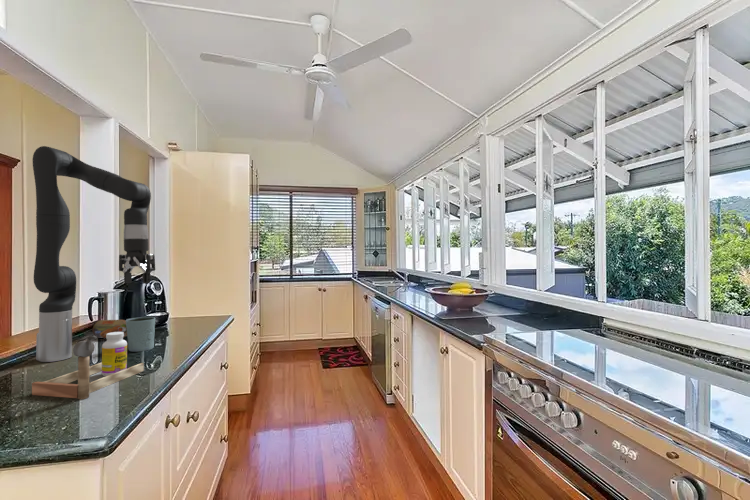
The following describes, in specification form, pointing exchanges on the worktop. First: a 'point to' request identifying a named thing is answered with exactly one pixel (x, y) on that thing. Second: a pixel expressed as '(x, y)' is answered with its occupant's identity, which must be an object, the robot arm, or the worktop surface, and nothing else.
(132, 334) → the grey green cup
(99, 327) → the tin
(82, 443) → the worktop surface
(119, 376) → the wooden frame stand
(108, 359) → the supplement bottle
